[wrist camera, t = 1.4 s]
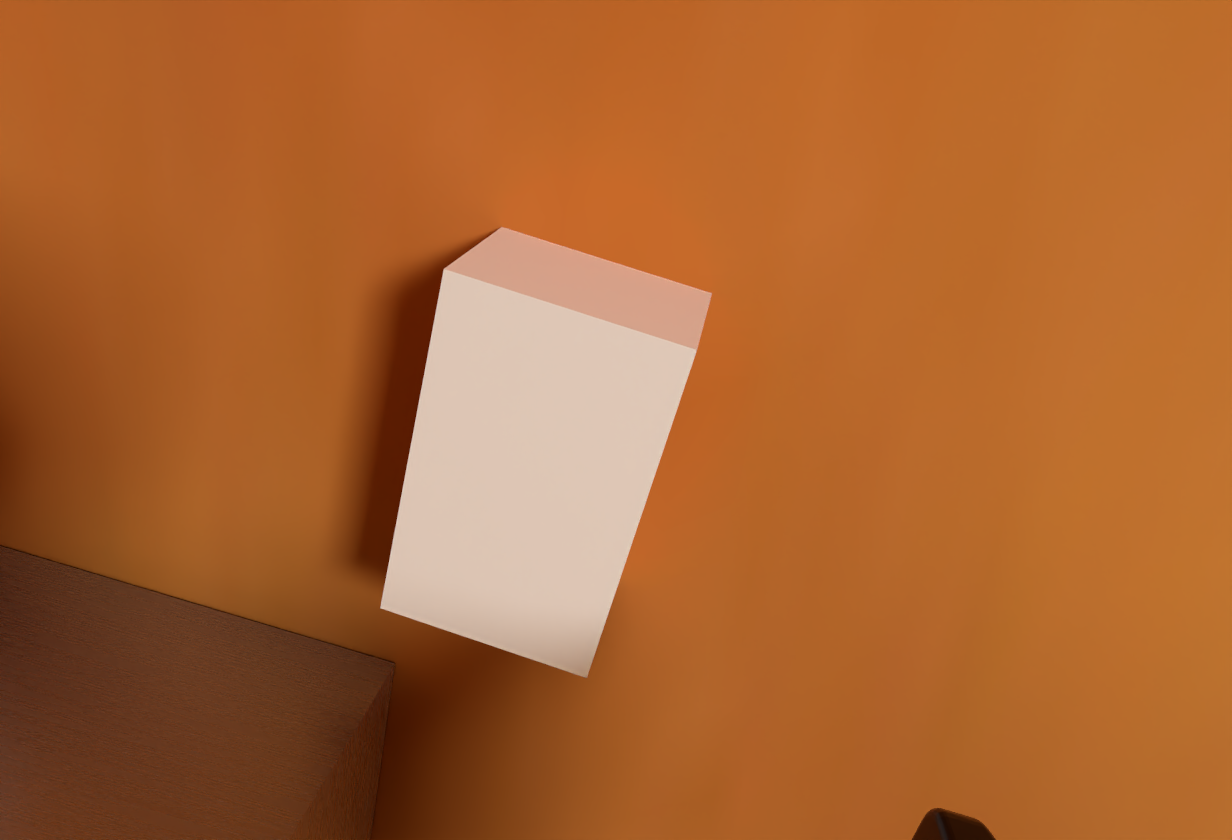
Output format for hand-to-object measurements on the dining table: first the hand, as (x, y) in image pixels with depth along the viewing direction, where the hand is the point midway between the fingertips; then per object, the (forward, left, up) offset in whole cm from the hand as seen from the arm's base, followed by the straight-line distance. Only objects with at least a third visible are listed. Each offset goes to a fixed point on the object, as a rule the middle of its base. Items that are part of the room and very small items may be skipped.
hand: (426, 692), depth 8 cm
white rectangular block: (0, 0, -6) cm, 6 cm away
